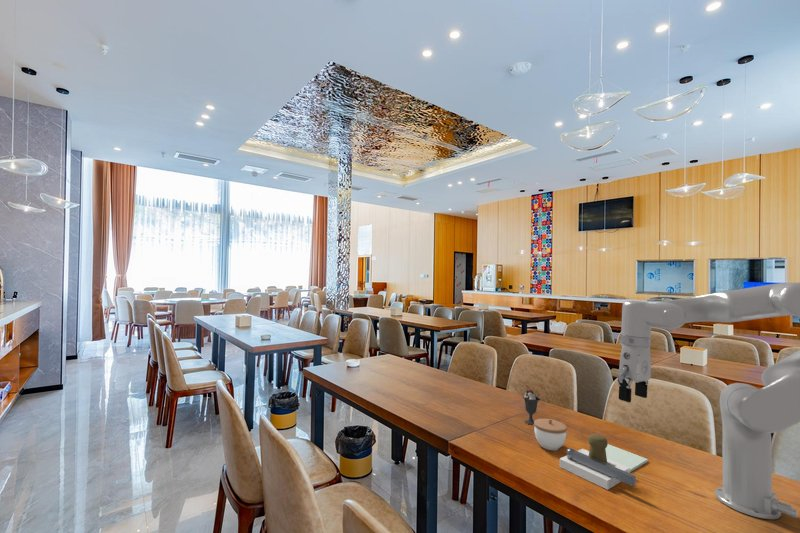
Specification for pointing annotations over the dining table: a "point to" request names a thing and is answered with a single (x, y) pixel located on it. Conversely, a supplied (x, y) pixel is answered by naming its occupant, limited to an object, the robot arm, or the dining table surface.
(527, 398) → the sundae
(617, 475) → the retention bar
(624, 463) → the sage mat
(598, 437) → the olive tapered cylinder
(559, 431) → the lidded jar
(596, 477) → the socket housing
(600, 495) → the dining table surface
